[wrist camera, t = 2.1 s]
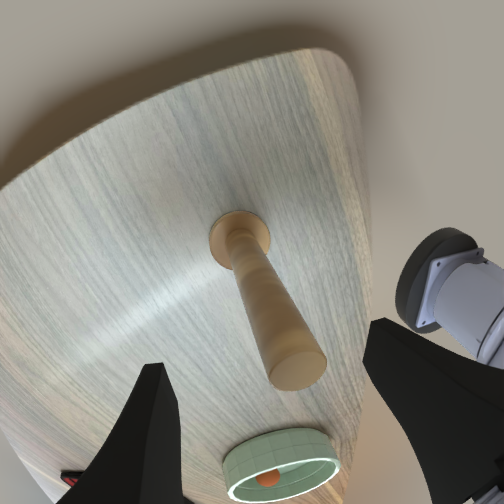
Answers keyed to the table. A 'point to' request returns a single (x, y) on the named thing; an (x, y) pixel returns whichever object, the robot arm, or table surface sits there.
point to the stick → (267, 303)
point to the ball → (268, 478)
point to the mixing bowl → (280, 465)
